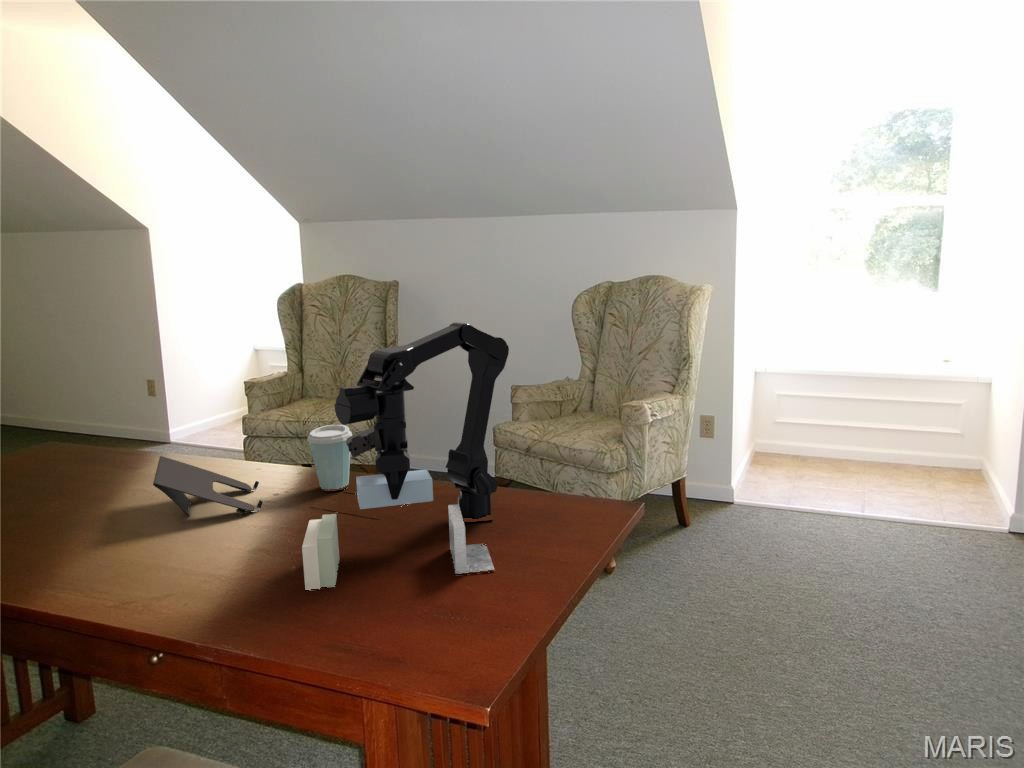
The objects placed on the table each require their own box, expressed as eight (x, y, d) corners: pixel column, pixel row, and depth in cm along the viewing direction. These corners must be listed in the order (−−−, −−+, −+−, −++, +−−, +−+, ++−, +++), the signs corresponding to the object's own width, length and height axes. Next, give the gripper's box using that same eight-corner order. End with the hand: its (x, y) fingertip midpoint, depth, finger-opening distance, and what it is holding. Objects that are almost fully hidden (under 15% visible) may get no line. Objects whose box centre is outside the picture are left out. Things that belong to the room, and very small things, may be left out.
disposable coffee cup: (345, 496, 178) (340, 435, 176) (303, 494, 181) (298, 433, 178) (362, 482, 189) (358, 424, 186) (322, 480, 191) (318, 423, 188)
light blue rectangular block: (427, 490, 152) (426, 469, 151) (433, 501, 146) (432, 478, 145) (357, 498, 149) (356, 476, 148) (360, 509, 142) (358, 486, 142)
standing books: (339, 557, 143) (336, 512, 141) (335, 588, 130) (331, 538, 129) (312, 560, 142) (309, 515, 141) (305, 590, 130) (301, 541, 128)
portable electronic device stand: (248, 544, 166) (264, 506, 166) (140, 514, 157) (157, 473, 157) (243, 511, 188) (258, 477, 187) (148, 483, 178) (163, 447, 178)
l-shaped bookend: (485, 546, 147) (484, 502, 145) (494, 571, 135) (493, 524, 134) (450, 549, 146) (448, 505, 144) (455, 575, 134) (453, 527, 132)
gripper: (349, 407, 152) (354, 481, 155) (344, 429, 134) (350, 513, 137) (405, 404, 154) (408, 478, 157) (407, 425, 136) (412, 508, 139)
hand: (394, 493), depth 147 cm, fingers closed on light blue rectangular block, 7 cm apart
